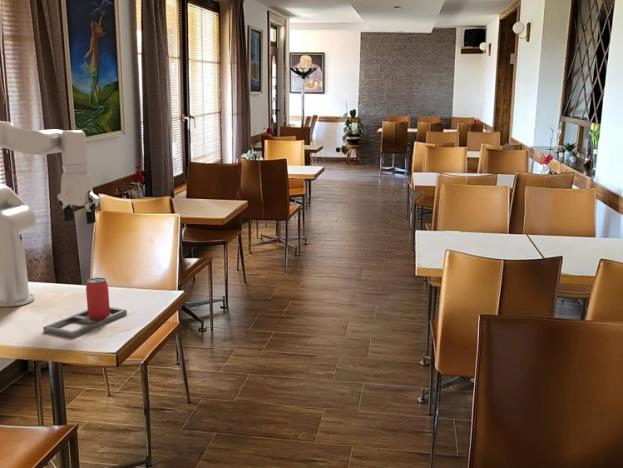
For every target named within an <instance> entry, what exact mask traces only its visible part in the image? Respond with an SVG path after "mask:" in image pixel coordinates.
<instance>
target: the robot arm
mask: <svg viewBox="0 0 623 468" xmlns="http://www.w3.org/2000/svg"><path fill="white" fill-rule="evenodd" d="M0 148H2V149H7V150H10V151H13V152H16V153H22V154H28V155H34V156H35V155H36V156H43V155H50V154H57V153H61V159H62V160H61V161H62V172H63V173H62V174H61V177H60V178H61V180H60V193H58V194H57V195H56V196H57V199H58V201H59V204H60V206H61V208H62V210H63V216H64V217H63V218H64V222H71V221H73V220H74V210H73V208H72V207H73V206H78V207H83V206H84V208H85V209H86V212H85V215H86V224H87V225H91V224H95V223H96V211H97V208H98V207H99V204H100V203H99V202H100V200H101V199H100V197H99V196H98V195H96V194H94V190H93V189H94V188H93V184H92V178H91V174H90V173H89V163H88V161H89V160H88V149H87V137H86V133H85V131H83V130H81V129H79V130H78V129H77V130H76V129H75V130H74V129H71V130H64V129H57V128H56V129H41V130H35V129H27V128H25V129H24V128H22V127H21V128H20V127H18V126H17V125H16V124H15V123H13V122H11V121H3V120H0ZM36 223H37V217H36V215H35V212H34V211H33V209H32V208H31V207H30V206H29V205H28V204H27V203H26V202H25V201H24V200H23V199H22V198H21V197H20V196H19V195H18V194H17V193H16V192H15V191H14V190H12V188H11V187H9V186H8V185H6V184H4V183H0V307H1V308H10V307H18V306H24V305H27V304H29V303H32V302H33V301H35V295H34V293H30V291H29V290H30V289H29V281H28V278H29V277H28V270H27V259H26V251H25V246H24V244H23V241H22V240H21V238H20V235H23V234H25V233H29V232H30V231H31V230H33V229H34V228H35V227H36Z"/></svg>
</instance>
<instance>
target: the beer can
mask: <svg viewBox="0 0 623 468" xmlns="http://www.w3.org/2000/svg"><path fill="white" fill-rule="evenodd" d="M108 285H109V284H108V283H107V280H106V278H104V277H95V278H89V279H87V280H86V286H85V293H86V304H87V305H86V306H87V310H88V316H87V317H89V318H94V319H103V318H105V317H107V316H109V315H110V314H111V313H110V307H111V306H110V295H109V293H110V291H109V286H108Z"/></svg>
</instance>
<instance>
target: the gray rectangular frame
mask: <svg viewBox="0 0 623 468" xmlns="http://www.w3.org/2000/svg"><path fill="white" fill-rule="evenodd" d="M127 314H128V311H127V309H123V308H118V307H112V306H110V315H109V316H107V317H105V318H103V319H94V318H89V317H88V309H86V310H83V311H81V312H79V313H76V314H73V315H71V316H68V317H66V318H65V317H64V318H63V319H60V320H57V321H55V322H53V323H50V324H47V325H46V326H43V329H42V330H43V331H42V332H43V333H47V334H51V335H56V336H60V337H66V338H69V339H74V338H76V337H79V336H81V335H83V334H86V333H88V332H91V331H93V330H95V329H97V328H99V327H102V326H104V325H106V324H109V323H111V322H113V321H115V320H118V319H120V318H123V317H124V316H126V315H127ZM71 323H79V324H83V325H84V326H82V327H80V328H77V329H74V330H68V329H63V328H61V327H64V326H66V325H68V324H71Z"/></svg>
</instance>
